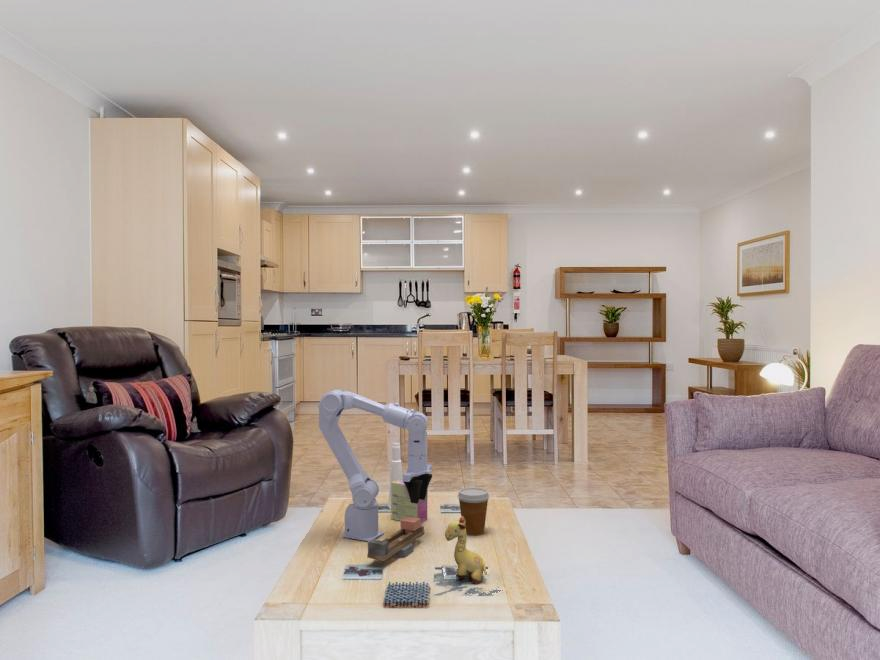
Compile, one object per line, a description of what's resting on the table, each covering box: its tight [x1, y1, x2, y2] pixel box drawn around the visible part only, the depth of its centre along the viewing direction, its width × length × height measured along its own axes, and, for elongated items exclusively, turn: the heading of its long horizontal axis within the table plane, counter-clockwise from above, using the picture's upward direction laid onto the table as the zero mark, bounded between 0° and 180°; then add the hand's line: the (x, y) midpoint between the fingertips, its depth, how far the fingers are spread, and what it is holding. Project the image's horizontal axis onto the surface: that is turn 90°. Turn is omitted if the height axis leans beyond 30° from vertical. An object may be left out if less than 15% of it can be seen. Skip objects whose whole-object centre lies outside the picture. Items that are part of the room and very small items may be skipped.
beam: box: [366, 525, 425, 561], centre depth 163 cm, size 7×22×6 cm, turn 154°
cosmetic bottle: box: [387, 442, 403, 509], centre depth 204 cm, size 6×6×22 cm
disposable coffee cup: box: [457, 487, 490, 536], centre depth 180 cm, size 10×10×12 cm
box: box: [390, 479, 429, 524], centre depth 191 cm, size 10×6×12 cm, turn 58°
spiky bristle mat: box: [382, 581, 431, 609], centre depth 135 cm, size 10×11×2 cm
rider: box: [399, 516, 422, 534], centre depth 170 cm, size 4×4×4 cm
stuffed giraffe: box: [433, 516, 503, 596], centre depth 144 cm, size 16×18×16 cm
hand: (418, 501), depth 175 cm, fingers open, 4 cm apart
